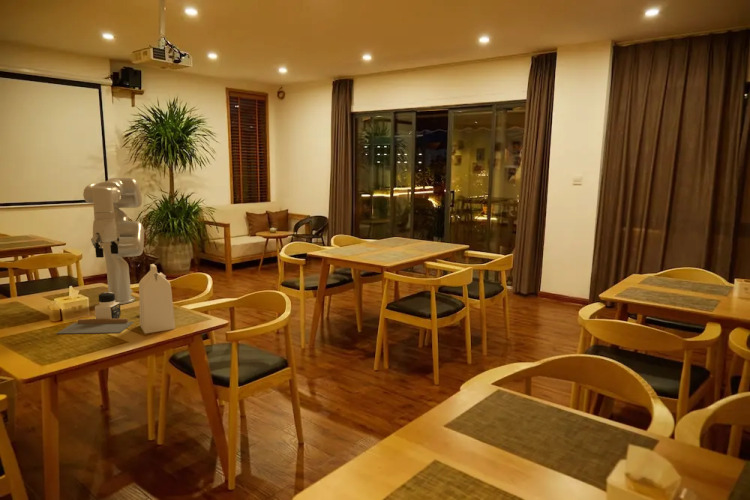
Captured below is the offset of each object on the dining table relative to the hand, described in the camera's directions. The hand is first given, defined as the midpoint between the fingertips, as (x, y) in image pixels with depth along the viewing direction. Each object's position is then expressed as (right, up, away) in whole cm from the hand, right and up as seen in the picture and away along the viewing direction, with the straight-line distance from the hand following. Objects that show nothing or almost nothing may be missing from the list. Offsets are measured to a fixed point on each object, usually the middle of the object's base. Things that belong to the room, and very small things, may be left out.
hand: (107, 255), depth 214 cm
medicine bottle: (+2, -28, -3) cm, 28 cm away
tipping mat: (+3, -30, -13) cm, 33 cm away
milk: (+27, -30, -11) cm, 41 cm away
